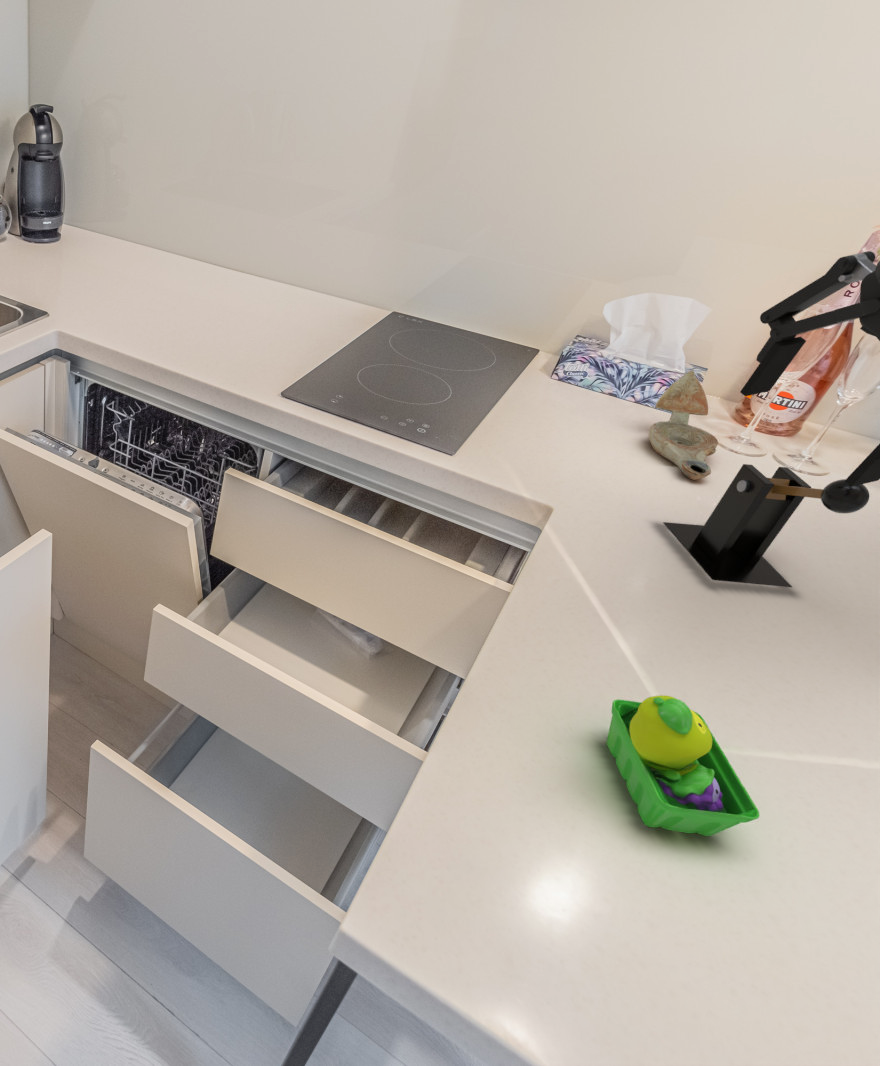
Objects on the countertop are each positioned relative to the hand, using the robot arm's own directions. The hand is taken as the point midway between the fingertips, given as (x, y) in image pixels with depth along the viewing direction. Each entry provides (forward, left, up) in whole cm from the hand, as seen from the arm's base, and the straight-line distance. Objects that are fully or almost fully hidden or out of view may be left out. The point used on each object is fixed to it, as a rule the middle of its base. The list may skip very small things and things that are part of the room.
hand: (804, 434), depth 77 cm
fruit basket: (+6, +33, -22) cm, 41 cm away
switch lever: (-6, -5, -10) cm, 13 cm away
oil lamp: (-1, -39, -22) cm, 45 cm away
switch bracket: (-4, -11, -22) cm, 25 cm away
